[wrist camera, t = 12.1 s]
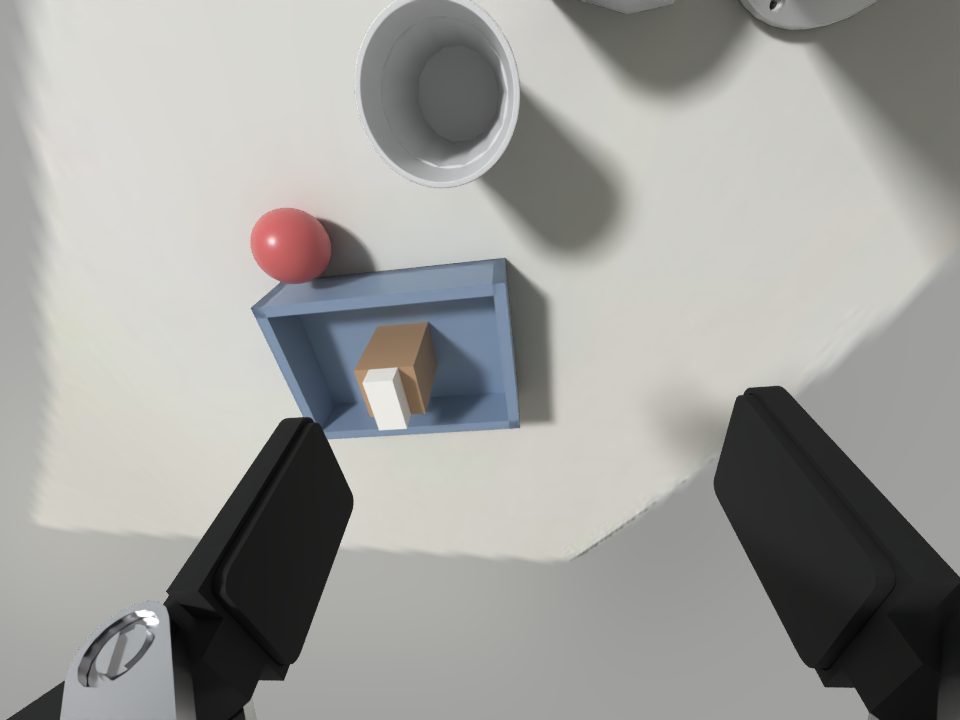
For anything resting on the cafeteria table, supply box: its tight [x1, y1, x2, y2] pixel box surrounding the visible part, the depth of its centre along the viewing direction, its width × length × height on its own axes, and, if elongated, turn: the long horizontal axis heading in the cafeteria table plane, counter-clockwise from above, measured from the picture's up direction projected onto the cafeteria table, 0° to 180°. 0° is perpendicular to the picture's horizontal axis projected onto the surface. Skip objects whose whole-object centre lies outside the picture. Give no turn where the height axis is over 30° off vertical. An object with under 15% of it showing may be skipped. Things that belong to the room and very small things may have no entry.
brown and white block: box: [354, 322, 438, 430], centre depth 37 cm, size 5×5×9 cm
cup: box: [354, 0, 520, 188], centre depth 25 cm, size 8×8×12 cm
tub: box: [251, 258, 520, 439], centre depth 39 cm, size 21×15×6 cm
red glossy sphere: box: [251, 208, 331, 284], centre depth 33 cm, size 6×6×6 cm
